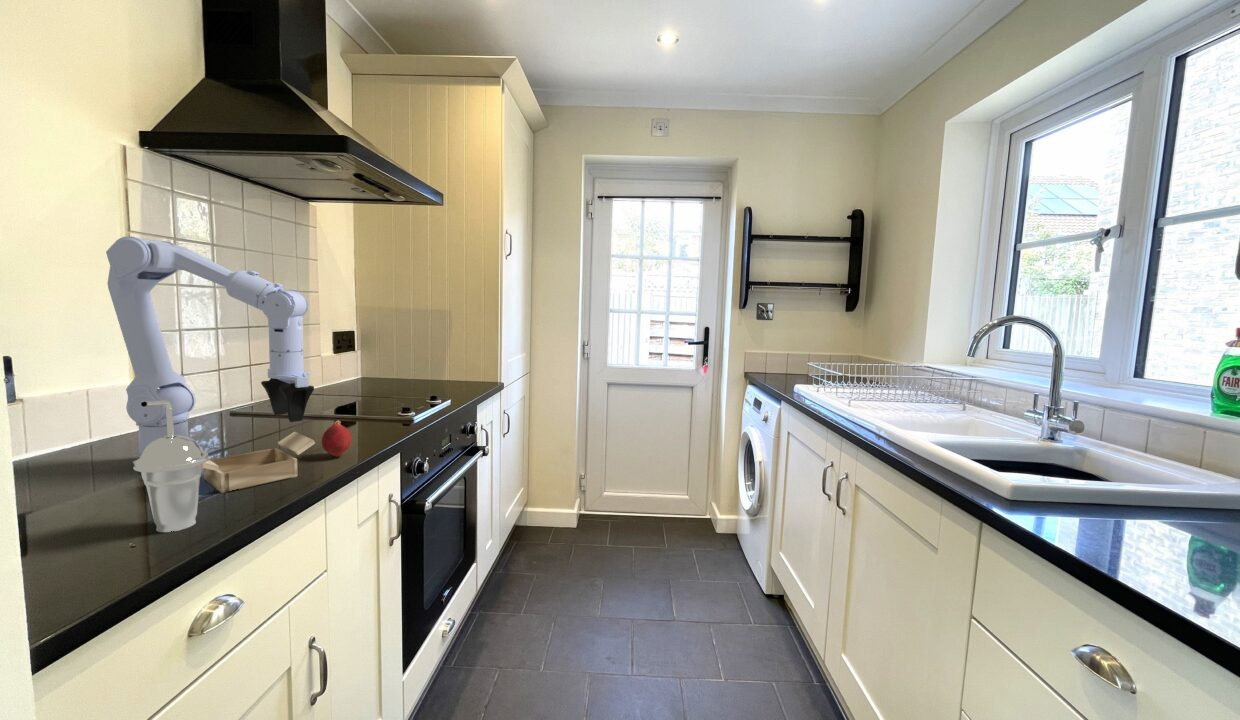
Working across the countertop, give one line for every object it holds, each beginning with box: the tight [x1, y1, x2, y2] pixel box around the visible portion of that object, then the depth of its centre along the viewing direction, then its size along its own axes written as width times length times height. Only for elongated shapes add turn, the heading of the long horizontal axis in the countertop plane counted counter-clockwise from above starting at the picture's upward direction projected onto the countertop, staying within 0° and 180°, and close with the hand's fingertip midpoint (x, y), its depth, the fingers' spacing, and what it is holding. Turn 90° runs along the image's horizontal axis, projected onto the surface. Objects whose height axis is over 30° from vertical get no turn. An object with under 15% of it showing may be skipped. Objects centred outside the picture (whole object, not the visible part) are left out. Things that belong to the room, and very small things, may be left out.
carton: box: [202, 447, 299, 494], centre depth 97 cm, size 11×12×4 cm
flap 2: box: [277, 431, 316, 456], centre depth 102 cm, size 9×4×1 cm
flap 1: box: [203, 459, 219, 471], centre depth 90 cm, size 9×4×1 cm, turn 53°
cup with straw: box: [132, 401, 211, 533], centre depth 75 cm, size 8×9×20 cm
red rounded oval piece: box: [321, 420, 353, 458], centre depth 111 cm, size 6×6×8 cm
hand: (288, 417), depth 103 cm, fingers open, 7 cm apart
